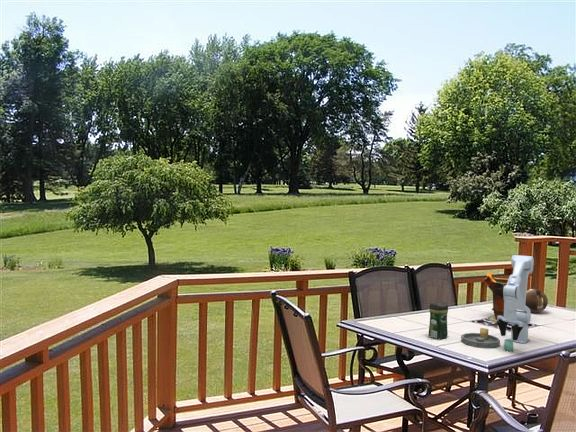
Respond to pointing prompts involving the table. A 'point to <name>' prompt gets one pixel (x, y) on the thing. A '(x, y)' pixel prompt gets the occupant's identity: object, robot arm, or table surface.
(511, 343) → the teal cylinder
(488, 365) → the table surface
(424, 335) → the table surface
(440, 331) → the coffee jar
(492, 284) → the decorative vase
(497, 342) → the ring tray
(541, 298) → the wooden sphere
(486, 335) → the tan wooden cylinder
